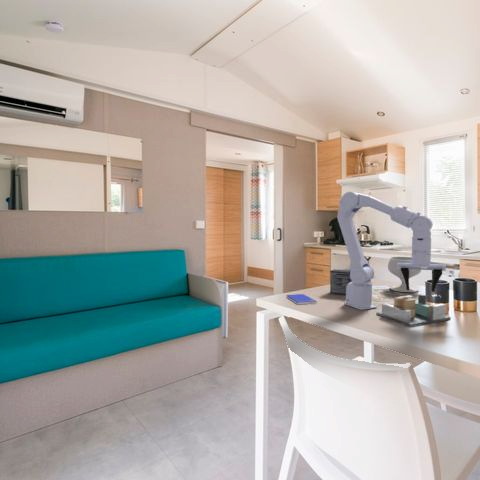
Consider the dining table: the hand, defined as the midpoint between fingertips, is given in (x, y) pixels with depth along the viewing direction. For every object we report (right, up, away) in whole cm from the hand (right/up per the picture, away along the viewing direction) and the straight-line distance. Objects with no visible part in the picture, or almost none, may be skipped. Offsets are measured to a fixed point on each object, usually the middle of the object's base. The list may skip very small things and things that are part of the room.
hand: (420, 290), depth 113 cm
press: (-3, -9, 0) cm, 10 cm away
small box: (-16, -7, +34) cm, 38 cm away
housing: (-7, -8, -2) cm, 11 cm away
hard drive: (-37, -8, +23) cm, 44 cm away
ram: (0, -8, +1) cm, 8 cm away
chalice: (+14, -6, +40) cm, 43 cm away
